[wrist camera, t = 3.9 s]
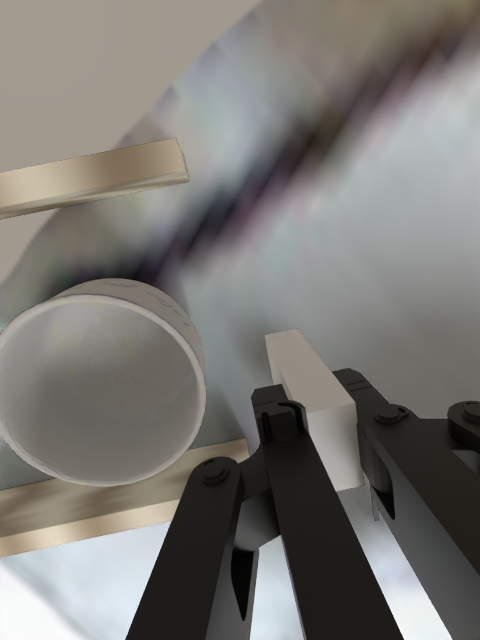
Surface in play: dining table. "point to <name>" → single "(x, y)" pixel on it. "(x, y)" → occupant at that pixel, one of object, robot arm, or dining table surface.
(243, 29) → the dining table surface
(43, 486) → the wooden bars
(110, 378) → the teacup
